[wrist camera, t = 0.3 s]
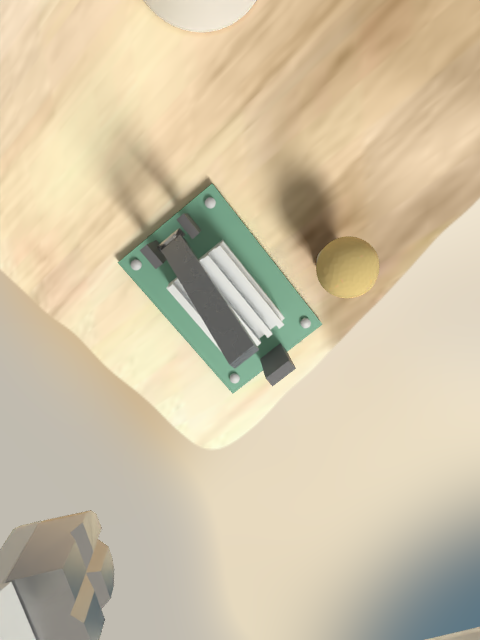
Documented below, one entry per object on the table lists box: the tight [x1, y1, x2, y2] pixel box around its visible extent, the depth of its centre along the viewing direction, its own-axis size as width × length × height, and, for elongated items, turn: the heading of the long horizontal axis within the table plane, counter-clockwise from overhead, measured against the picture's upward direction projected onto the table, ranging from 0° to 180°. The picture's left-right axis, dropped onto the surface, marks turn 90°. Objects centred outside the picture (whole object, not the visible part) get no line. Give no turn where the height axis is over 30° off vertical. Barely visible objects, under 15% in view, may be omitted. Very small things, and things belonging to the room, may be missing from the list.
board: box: [118, 184, 322, 393], centre depth 50 cm, size 21×14×8 cm, turn 39°
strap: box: [157, 228, 259, 369], centre depth 40 cm, size 17×3×1 cm
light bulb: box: [316, 237, 379, 298], centre depth 49 cm, size 6×6×10 cm
